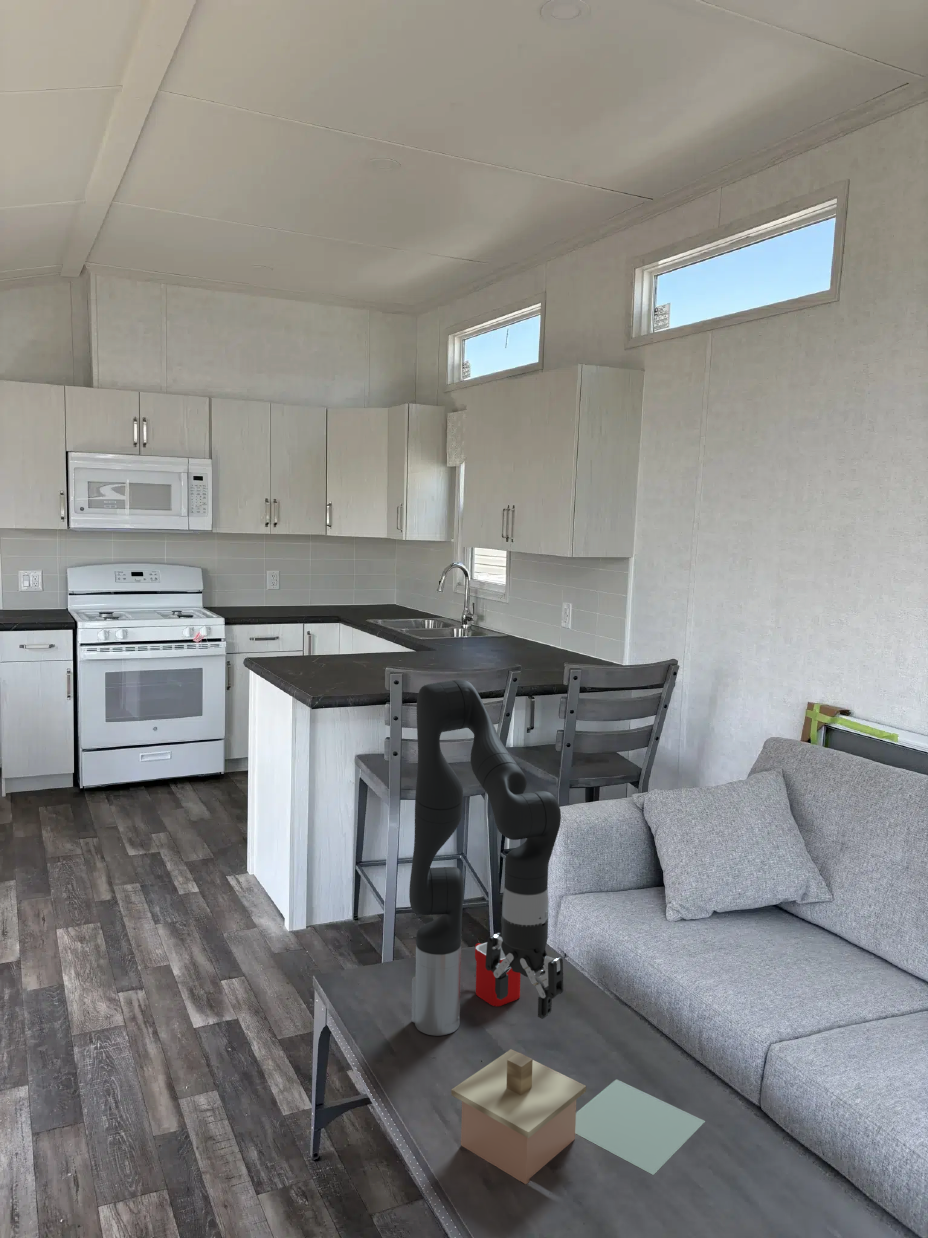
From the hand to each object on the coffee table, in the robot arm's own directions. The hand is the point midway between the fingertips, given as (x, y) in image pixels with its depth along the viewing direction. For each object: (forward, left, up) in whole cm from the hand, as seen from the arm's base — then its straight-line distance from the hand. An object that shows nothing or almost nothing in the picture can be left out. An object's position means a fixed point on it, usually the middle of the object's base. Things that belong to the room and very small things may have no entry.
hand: (522, 1007), depth 154 cm
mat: (+12, +17, -24) cm, 32 cm away
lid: (0, 0, -15) cm, 15 cm away
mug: (-35, +36, -25) cm, 56 cm away
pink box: (0, 0, -24) cm, 24 cm away
